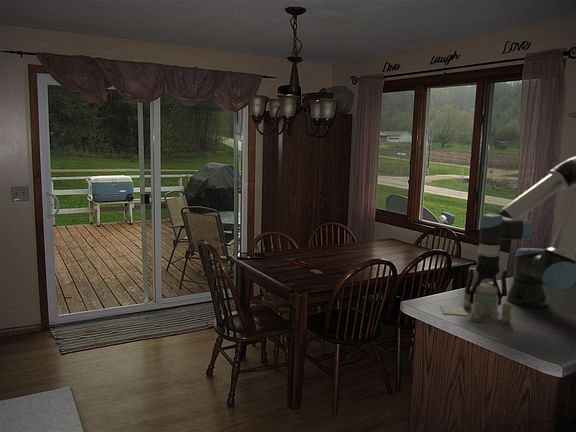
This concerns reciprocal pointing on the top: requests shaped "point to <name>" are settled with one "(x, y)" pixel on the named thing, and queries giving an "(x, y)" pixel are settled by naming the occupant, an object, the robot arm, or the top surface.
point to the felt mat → (453, 310)
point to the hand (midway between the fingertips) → (484, 311)
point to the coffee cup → (486, 297)
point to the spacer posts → (479, 310)
